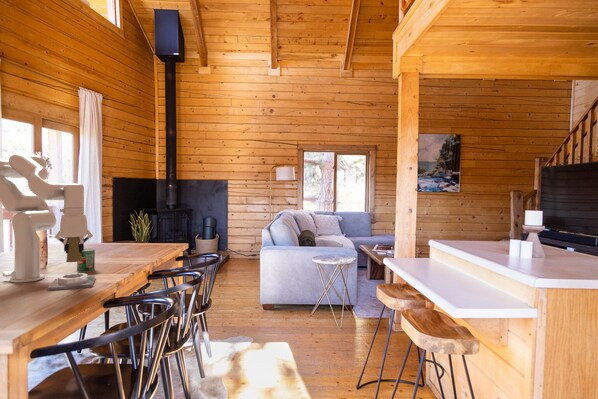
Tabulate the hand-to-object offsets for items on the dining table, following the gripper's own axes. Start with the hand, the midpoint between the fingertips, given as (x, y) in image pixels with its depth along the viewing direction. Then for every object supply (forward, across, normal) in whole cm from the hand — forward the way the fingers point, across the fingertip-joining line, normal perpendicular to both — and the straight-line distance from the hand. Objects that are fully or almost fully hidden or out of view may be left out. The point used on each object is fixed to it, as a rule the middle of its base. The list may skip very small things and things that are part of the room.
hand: (74, 252), depth 157 cm
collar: (+14, 0, 0) cm, 14 cm away
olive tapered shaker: (+4, 0, 0) cm, 4 cm away
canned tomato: (+14, +2, +28) cm, 32 cm away
